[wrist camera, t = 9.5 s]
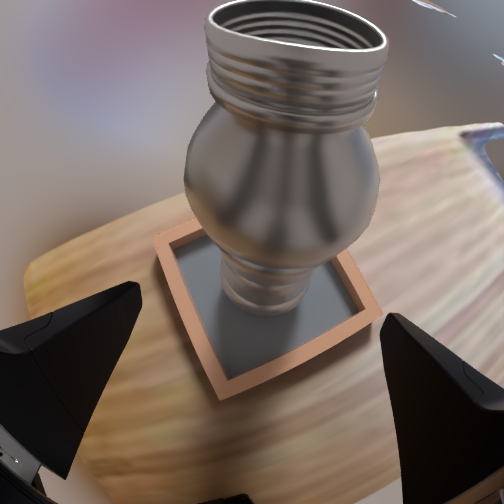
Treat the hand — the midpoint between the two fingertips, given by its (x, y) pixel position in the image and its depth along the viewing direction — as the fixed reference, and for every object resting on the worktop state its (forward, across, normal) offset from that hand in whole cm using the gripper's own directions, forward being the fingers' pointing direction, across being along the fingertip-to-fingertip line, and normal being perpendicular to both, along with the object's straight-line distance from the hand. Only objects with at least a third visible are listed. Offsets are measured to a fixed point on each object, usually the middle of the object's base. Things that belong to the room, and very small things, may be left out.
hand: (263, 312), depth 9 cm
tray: (+13, 0, +6) cm, 14 cm away
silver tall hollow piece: (+12, 0, +6) cm, 14 cm away
